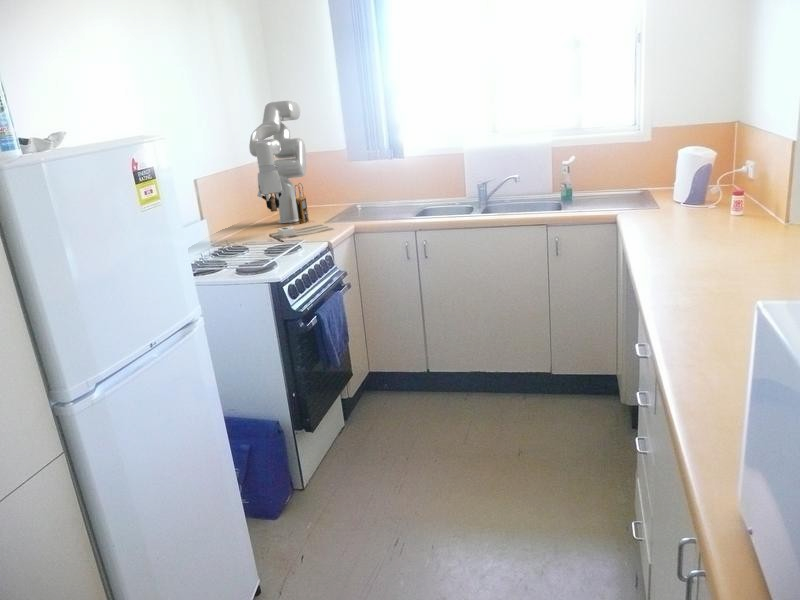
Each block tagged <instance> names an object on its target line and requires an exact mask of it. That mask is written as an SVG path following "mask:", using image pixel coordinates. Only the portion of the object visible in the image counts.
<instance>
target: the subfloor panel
mask: <svg viewBox="0 0 800 600" xmlns="http://www.w3.org/2000/svg"><path fill="white" fill-rule="evenodd" d="M295 230H296V235H291V236H286V237H282V236H279V233H278V232H272V233H269V234H268V237H269V238H272V239H274V240H276V241H278V242H281V243H285V242H284V240H286V239H293V238H297V237H302V236H309V235H313V234H319V233H324V232H328V231H335V230H336V228H334V227H330V226H326V225H324V224H317V225H311V226H306V227H300V228H295Z"/></svg>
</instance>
